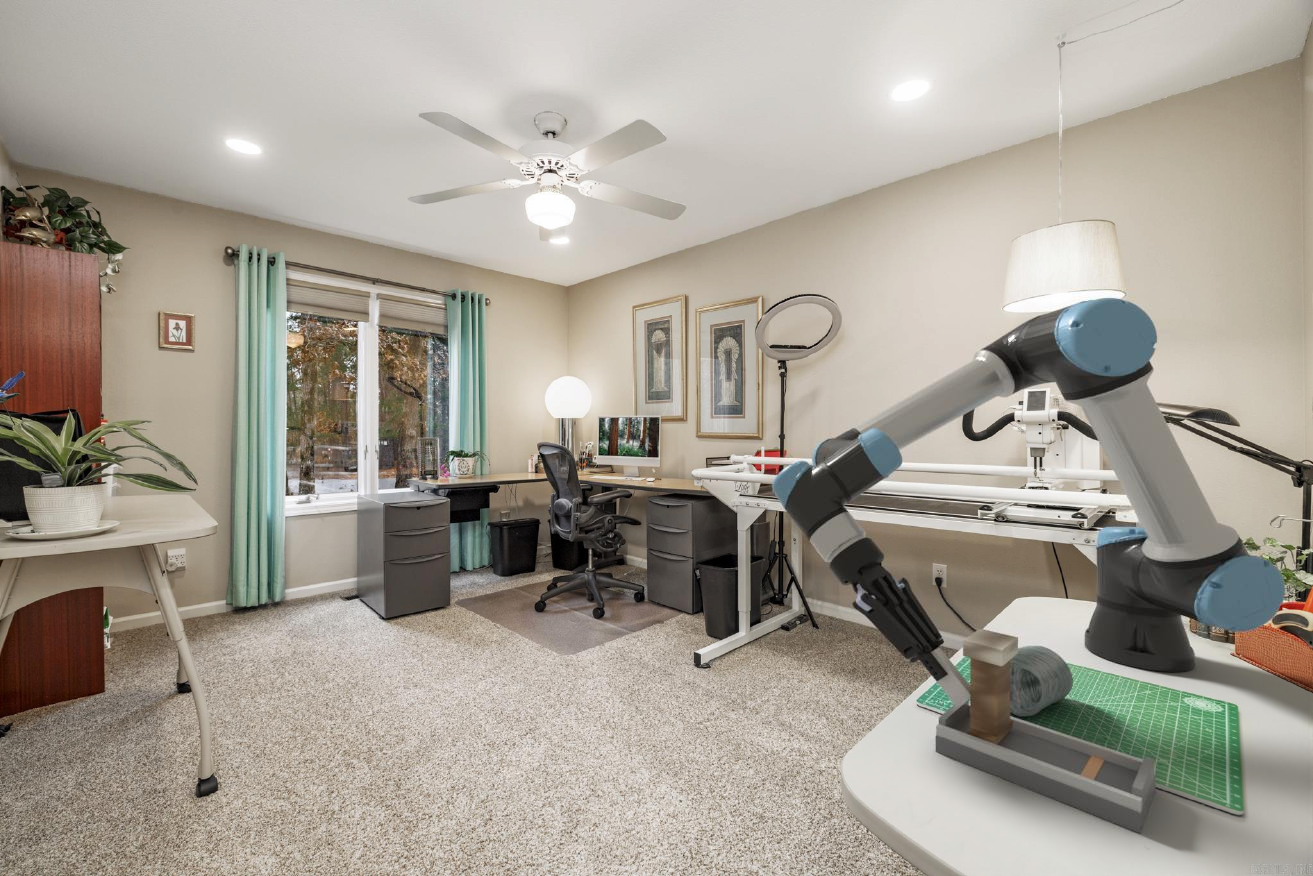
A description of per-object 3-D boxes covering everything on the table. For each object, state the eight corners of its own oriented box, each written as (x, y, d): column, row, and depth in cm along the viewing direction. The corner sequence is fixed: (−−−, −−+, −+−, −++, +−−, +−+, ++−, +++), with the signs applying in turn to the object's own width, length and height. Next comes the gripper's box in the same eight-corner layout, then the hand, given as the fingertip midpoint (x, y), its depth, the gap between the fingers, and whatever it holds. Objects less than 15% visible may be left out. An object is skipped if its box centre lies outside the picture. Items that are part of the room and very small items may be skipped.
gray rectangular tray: (935, 751, 73) (935, 720, 73) (965, 723, 79) (965, 695, 79) (1140, 833, 58) (1140, 794, 58) (1155, 790, 65) (1155, 755, 64)
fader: (961, 736, 72) (961, 641, 71) (981, 716, 76) (981, 627, 76) (1000, 750, 68) (1000, 651, 68) (1018, 729, 73) (1019, 636, 73)
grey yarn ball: (1046, 713, 76) (1021, 634, 81) (981, 718, 83) (962, 645, 88) (1103, 716, 81) (1077, 642, 86) (1037, 720, 89) (1017, 652, 94)
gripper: (853, 558, 92) (963, 696, 80) (807, 572, 84) (922, 729, 72) (885, 529, 88) (1005, 670, 76) (840, 541, 80) (968, 702, 68)
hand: (965, 699), depth 74 cm, fingers closed
